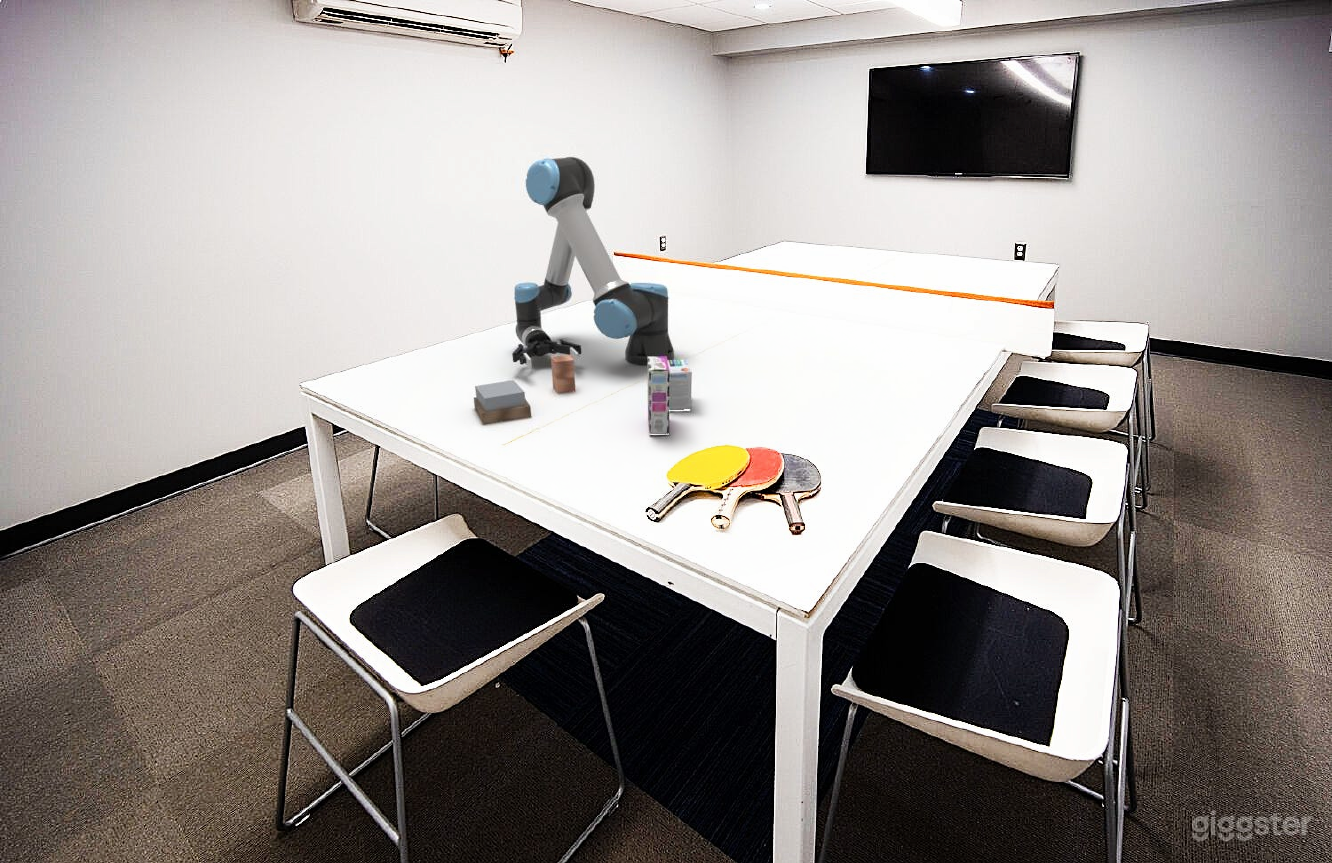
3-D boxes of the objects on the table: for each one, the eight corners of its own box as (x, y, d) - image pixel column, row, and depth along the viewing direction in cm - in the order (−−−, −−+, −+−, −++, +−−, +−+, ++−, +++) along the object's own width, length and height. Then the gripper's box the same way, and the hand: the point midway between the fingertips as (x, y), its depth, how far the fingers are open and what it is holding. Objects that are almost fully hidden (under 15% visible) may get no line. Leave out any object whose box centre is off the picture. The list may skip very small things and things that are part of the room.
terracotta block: (570, 385, 204) (568, 354, 201) (575, 391, 200) (573, 359, 197) (553, 388, 203) (550, 357, 199) (557, 393, 198) (555, 362, 195)
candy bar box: (670, 436, 172) (670, 369, 165) (649, 436, 171) (648, 370, 165) (667, 418, 182) (667, 355, 175) (647, 418, 182) (646, 355, 175)
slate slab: (514, 392, 191) (513, 380, 190) (525, 404, 183) (524, 391, 181) (476, 398, 187) (474, 386, 186) (486, 411, 179) (484, 398, 177)
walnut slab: (520, 403, 194) (519, 390, 192) (531, 419, 183) (530, 406, 182) (475, 410, 189) (473, 397, 188) (483, 426, 179) (481, 413, 178)
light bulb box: (662, 398, 195) (662, 359, 191) (687, 397, 195) (687, 358, 191) (666, 412, 185) (665, 372, 181) (692, 411, 186) (692, 371, 181)
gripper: (577, 348, 229) (597, 368, 211) (497, 358, 221) (511, 379, 203) (575, 325, 226) (595, 343, 208) (494, 334, 218) (508, 353, 200)
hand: (554, 361), depth 205 cm, fingers open, 13 cm apart
